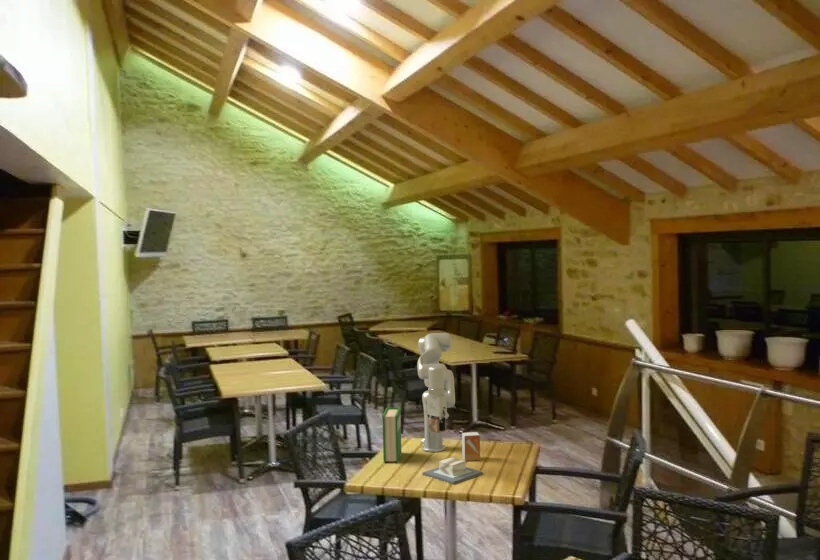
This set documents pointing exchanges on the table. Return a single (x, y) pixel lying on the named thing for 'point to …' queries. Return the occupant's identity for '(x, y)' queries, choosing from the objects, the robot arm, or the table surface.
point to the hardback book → (392, 434)
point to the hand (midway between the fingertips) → (437, 429)
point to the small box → (471, 446)
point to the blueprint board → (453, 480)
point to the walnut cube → (435, 425)
